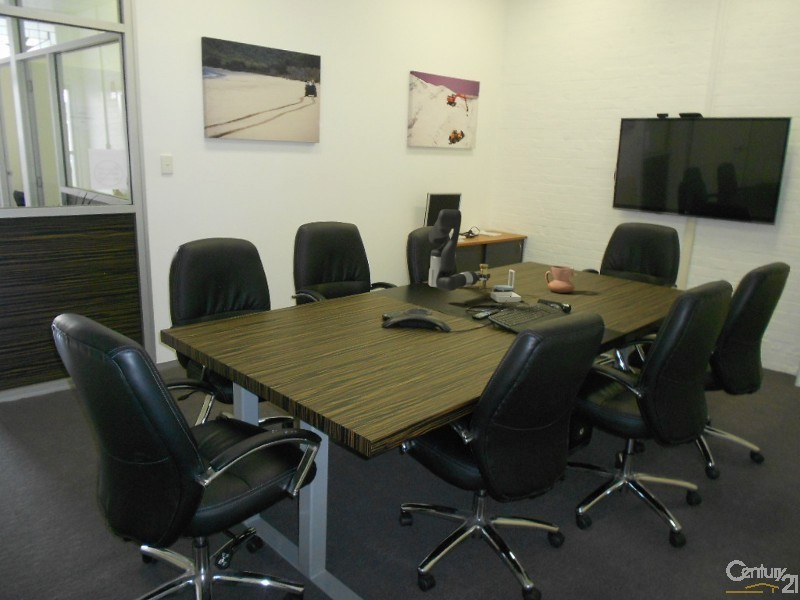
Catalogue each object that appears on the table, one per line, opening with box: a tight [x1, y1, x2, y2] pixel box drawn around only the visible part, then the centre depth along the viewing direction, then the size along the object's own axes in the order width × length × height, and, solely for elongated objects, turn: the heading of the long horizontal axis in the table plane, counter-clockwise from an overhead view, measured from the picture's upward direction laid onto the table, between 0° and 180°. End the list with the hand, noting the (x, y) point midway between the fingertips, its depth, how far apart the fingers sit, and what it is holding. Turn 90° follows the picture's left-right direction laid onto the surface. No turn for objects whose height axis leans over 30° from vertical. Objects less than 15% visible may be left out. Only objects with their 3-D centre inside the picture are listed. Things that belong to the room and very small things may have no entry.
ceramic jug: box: [544, 265, 578, 294], centre depth 330 cm, size 18×14×14 cm
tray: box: [490, 291, 522, 303], centre depth 306 cm, size 12×12×3 cm
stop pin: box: [478, 263, 489, 290], centre depth 313 cm, size 5×5×13 cm
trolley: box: [492, 269, 516, 294], centre depth 316 cm, size 10×7×14 cm
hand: (486, 275), depth 315 cm, fingers closed on stop pin, 3 cm apart
